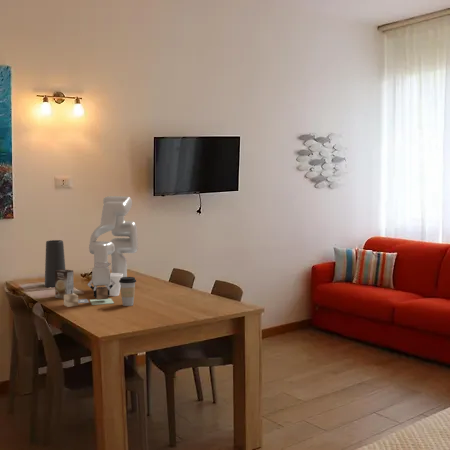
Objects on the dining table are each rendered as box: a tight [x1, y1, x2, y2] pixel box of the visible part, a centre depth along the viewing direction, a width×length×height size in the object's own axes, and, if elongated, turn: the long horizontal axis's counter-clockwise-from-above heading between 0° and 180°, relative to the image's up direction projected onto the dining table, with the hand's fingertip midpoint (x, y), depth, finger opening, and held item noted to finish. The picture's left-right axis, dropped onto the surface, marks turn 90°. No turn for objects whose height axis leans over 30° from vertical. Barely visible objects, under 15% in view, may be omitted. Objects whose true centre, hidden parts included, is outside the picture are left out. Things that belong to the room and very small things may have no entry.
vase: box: [44, 239, 66, 288], centre depth 390 cm, size 14×14×29 cm
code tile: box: [78, 298, 90, 304], centre depth 343 cm, size 10×10×1 cm
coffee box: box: [54, 268, 75, 300], centre depth 353 cm, size 9×6×16 cm
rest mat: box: [89, 298, 115, 306], centre depth 341 cm, size 12×12×1 cm
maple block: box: [63, 293, 79, 308], centre depth 333 cm, size 6×6×6 cm
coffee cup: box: [119, 276, 137, 307], centre depth 334 cm, size 9×9×15 cm
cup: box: [104, 272, 123, 297], centre depth 360 cm, size 12×12×12 cm
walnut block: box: [95, 286, 109, 300], centre depth 341 cm, size 6×6×6 cm
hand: (101, 296), depth 341 cm, fingers closed on walnut block, 6 cm apart
